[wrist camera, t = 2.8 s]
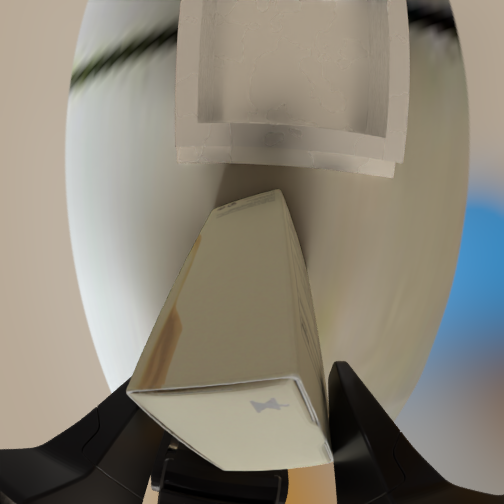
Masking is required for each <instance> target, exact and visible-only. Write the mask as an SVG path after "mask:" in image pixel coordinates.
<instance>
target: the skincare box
mask: <svg viewBox="0 0 504 504" xmlns="http://www.w3.org/2000/svg"><path fill="white" fill-rule="evenodd" d="M126 393H127V395H128V396H129V397H130V398H131V399H132V400H133V401H134V402H135V403H136V404H137V405H138V406H139V407H141V409H142V410H143V411H145V412H146V413H147V414H148V415H149V416H150V417H151V418H153V420H154V421H156V422H157V423H158V424H159V425H160V426H161V427H162V428H164V429H165V430H166V431H168V432H169V433H170V434H171V435H173V436H174V437H175V438H177V439H178V440H179V441H180V442H182V443H183V444H185V445H186V446H187V447H188V448H190V449H191V450H193V451H194V452H195V453H197V454H199V455H200V456H201V457H203V458H204V459H206V460H208V461H209V462H211V463H212V464H214V465H215V466H217V467H219V468H220V469H222V470H224V471H264V470H278V469H291V468H298V467H309V466H315V465H321V464H327V463H330V462H332V461H333V452H332V443H331V435H330V427H329V405H328V397H327V389H326V382H325V375H324V368H323V361H322V355H321V348H320V342H319V336H318V330H317V324H316V318H315V312H314V307H313V301H312V295H311V290H310V284H309V279H308V274H307V270H306V266H305V262H304V258H303V254H302V251H301V247H300V244H299V241H298V237H297V234H296V231H295V228H294V225H293V222H292V219H291V216H290V213H289V210H288V207H287V204H286V202H285V199H284V196H283V194H282V191H281V190H280V189H276V190H272V191H268V192H265V193H261V194H257V195H254V196H250V197H247V198H244V199H241V200H237V201H234V202H232V203H229V204H226V205H223V206H221V207H218V208H215V209H213V210H212V212H211V213H210V215H209V217H208V219H207V221H206V223H205V224H204V226H203V228H202V230H201V232H200V234H199V236H198V238H197V240H196V242H195V244H194V246H193V247H192V249H191V251H190V253H189V255H188V257H187V259H186V261H185V263H184V265H183V267H182V269H181V271H180V273H179V275H178V277H177V279H176V281H175V283H174V285H173V287H172V289H171V291H170V293H169V295H168V297H167V300H166V302H165V304H164V306H163V308H162V310H161V312H160V314H159V317H158V319H157V321H156V323H155V325H154V327H153V329H152V332H151V334H150V336H149V338H148V341H147V343H146V345H145V347H144V350H143V352H142V354H141V356H140V359H139V361H138V363H137V366H136V368H135V370H134V373H133V375H132V378H131V380H130V382H129V385H128V387H127V390H126Z"/></svg>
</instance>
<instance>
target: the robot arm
mask: <svg viewBox="0 0 504 504" xmlns="http://www.w3.org/2000/svg"><path fill="white" fill-rule="evenodd" d="M131 378H132V376H131V377H130V378H129V379H128V380H127V381H126V382H125V383H123V384H122V385H121V386H120V387H119V388H118V389H117V390H115V391H114V392H113V393H112V394H111V395H110V396H108V397H107V398H106V399H105V400H104V401H103V402H102V403H100V404H99V405H98V408H97V407H96V408H94V409H93V410H92V411H91V412H90V413H88V414H87V415H86V416H85V417H83V418H82V419H81V420H80V421H78V422H77V423H75V424H74V425H73V426H71V427H70V428H68V429H67V430H65V431H64V432H62V433H61V434H59V435H57V436H56V437H54V438H53V439H52V440H50V441H48V442H46V443H45V444H43V445H40V446H38V447H34V448H24V449H0V504H142V502H143V498H144V495H145V492H146V488H147V485H148V481H149V478H150V475H151V487H152V490H154V491H157V492H159V496H158V504H285V502H286V498H287V494H288V484H289V482H288V481H289V480H288V469H278V470H264V471H224V470H222V469H220V468H219V467H217V466H215V465H214V464H212V463H211V462H209V461H208V460H206V459H204V458H203V457H201V456H200V455H199V454H197V453H195V452H194V451H193V450H191V449H190V448H188V447H187V446H186V445H185V444H183V443H182V442H180V441H179V440H178V439H177V438H175V437H174V436H173V435H171V434H170V433H169V432H168V431H166V430H165V429H164V428H162V427H161V426H160V425H159V424H158V423H157V422H156V421H154V420H153V418H151V417H150V416H149V415H148V414H147V413H146V412H145V411H143V410H142V409H141V407H139V406H138V405H137V404H136V403H135V402H134V401H133V400H132V399H131V398H130V397H129V396H128V395H127V393H126V390H127V387H128V385H129V382H130V380H131ZM328 397H329V427H330V435H331V443H332V452H333V462H334V471H335V483H336V495H337V504H504V495H493V494H488V493H483V492H479V491H475V490H470V489H467V488H463V487H459V486H456V485H454V484H452V483H450V482H448V481H447V480H445V479H444V478H443V477H442V476H441V475H440V474H439V473H438V472H437V471H436V470H435V469H434V468H433V467H432V466H431V465H430V464H429V463H428V462H427V461H426V460H425V459H424V458H423V457H422V456H421V455H420V454H419V453H418V452H417V451H416V449H415V448H414V447H413V446H412V445H411V444H410V443H409V441H408V440H407V439H406V437H405V436H404V435H403V433H402V432H400V430H399V429H398V427H397V426H396V425H395V423H394V422H393V421H392V419H391V418H390V417H389V416H388V414H387V413H386V412H385V410H384V409H383V408H382V406H381V405H380V404H379V403H378V401H377V400H376V399H375V397H374V396H373V395H372V394H371V392H370V391H369V390H368V389H367V387H366V386H365V385H364V383H363V382H362V381H361V380H360V378H359V377H358V376H357V374H356V373H355V372H354V371H353V369H352V368H351V367H350V365H349V364H348V363H347V362H345V361H336V362H334V364H333V366H332V369H331V372H330V374H329V378H328Z"/></svg>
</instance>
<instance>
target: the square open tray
mask: <svg viewBox="0 0 504 504" xmlns="http://www.w3.org/2000/svg"><path fill="white" fill-rule="evenodd" d="M409 87H410V48H409V28H408V15H407V5H406V0H181V2H180V13H179V24H178V38H177V56H176V83H175V147H177V163H233V164H260V165H278V166H293V167H305V168H316V169H327V170H336V171H345V172H353V173H361V174H368V175H375V176H382V177H388V178H393V176H394V169H395V162H396V163H402V164H403V159H404V151H405V143H406V133H407V122H408V108H409Z"/></svg>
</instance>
